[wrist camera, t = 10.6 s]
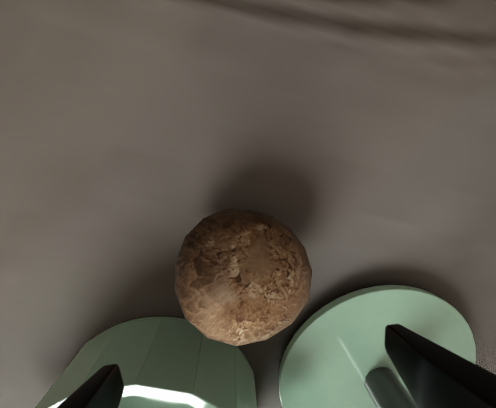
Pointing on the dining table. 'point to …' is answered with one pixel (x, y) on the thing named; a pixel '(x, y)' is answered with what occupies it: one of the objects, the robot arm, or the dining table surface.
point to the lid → (364, 348)
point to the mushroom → (241, 277)
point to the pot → (162, 367)
